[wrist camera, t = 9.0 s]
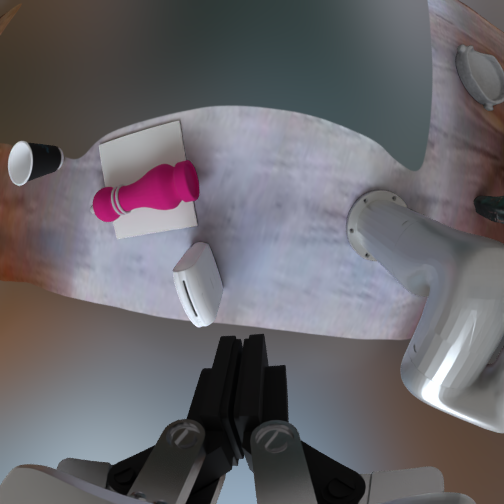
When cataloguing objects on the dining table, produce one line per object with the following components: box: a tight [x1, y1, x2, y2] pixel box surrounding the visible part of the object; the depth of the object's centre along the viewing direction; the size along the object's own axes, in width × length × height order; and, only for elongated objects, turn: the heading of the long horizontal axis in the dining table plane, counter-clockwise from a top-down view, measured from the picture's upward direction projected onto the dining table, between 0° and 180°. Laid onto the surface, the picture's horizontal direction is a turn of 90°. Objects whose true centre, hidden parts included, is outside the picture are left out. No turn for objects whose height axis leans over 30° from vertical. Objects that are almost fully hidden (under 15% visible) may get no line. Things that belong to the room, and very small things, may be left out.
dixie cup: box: [8, 141, 64, 186], centre depth 37 cm, size 8×8×11 cm
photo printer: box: [173, 242, 223, 327], centre depth 43 cm, size 10×4×12 cm, turn 15°
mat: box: [99, 121, 198, 239], centre depth 44 cm, size 16×18×1 cm
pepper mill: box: [90, 160, 199, 222], centre depth 41 cm, size 7×7×20 cm
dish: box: [456, 44, 504, 111], centre depth 30 cm, size 14×14×5 cm
